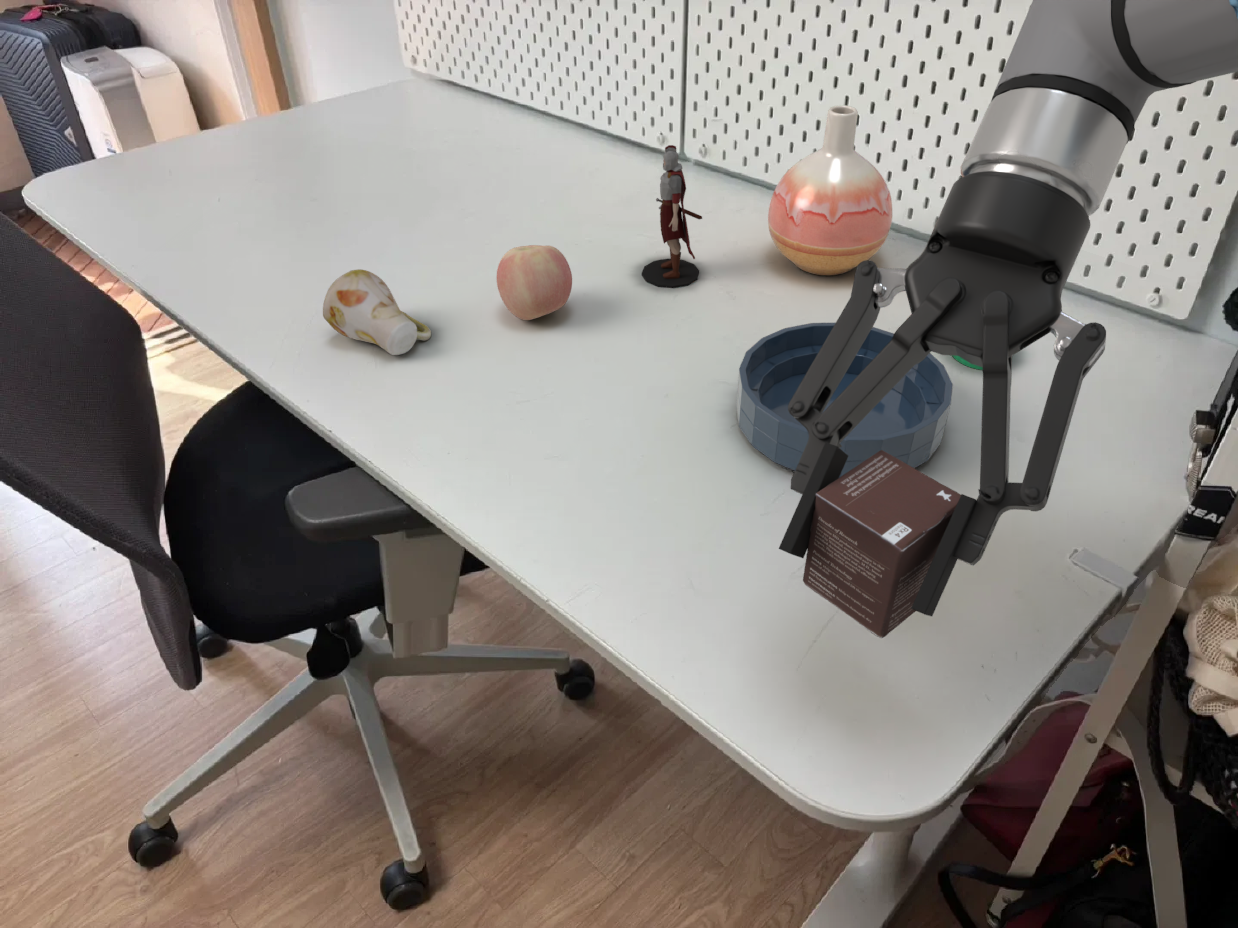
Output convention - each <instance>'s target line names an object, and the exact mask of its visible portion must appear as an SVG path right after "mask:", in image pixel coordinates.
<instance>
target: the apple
mask: <svg viewBox="0 0 1238 928" xmlns="http://www.w3.org/2000/svg"><path fill="white" fill-rule="evenodd" d="M496 287H497V290H498V293H499V296H500V298H501V300H502V303H503V304H504V306H505V307H506V308H507V310H508V311H509V312H510V313H511V314H512V315H513V316H514V317H516V318H518V319H520V320H522V321H523V320H524V321H531V320H535V319H538V318H540V317H543V316H547V315H549V314H551V313H553V312H555V311H558V310H560V309H562V308H563V307H564V306H565V305H566V303H567V302H568V300H569V298H570V296H571V293H572V289H573V273H572V270H571V267H570V264H569V262H568V260H567V257H565V255H564V253H562V252H561V251H560V249H558V248H557V247H554V246H553V245H539V244H531V245H530V244H529V245H521V246H516V247H513V248H511V249H509V250H508V251H506V252H505V253H504V255H502V257H501V259H500V261H499V263H498V265H497V270H496Z"/></svg>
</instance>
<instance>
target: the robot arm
mask: <svg viewBox="0 0 1238 928" xmlns="http://www.w3.org/2000/svg"><path fill="white" fill-rule="evenodd" d="M1234 73H1238V0H1032V1H1031V4H1030V7H1029V9H1028V11H1027V13H1026V16H1025V18H1024V21H1023V23H1022V25H1021V28H1020V30H1019V32H1018V35H1017V38H1016V39H1015V42H1014V44H1013V46H1012V49H1011V52H1010V53H1009V56H1008V58H1007V61H1006V63H1005V66H1004V68H1003V70H1002V73H1001V75H1000V77H999V79H998V82H997V84H996V86H995V89H994V91H993V96H992V98H991V100H990V102H989V103H988V105H987V108H986V110H985V112H984V114H983V117H982V119H981V121H980V123H979V125H978V128H977V129H976V132H975V134H974V136H973V139H972V141H971V143H970V145H969V148H968V150H967V152H966V154H965V156H964V159H963V160H962V163H961V165H960V175H961V178H959V179H957V180H956V181H954V183H953V184H952V186H951V189H950V190H949V192H948V195H947V198H946V199H945V202H944V204H943V207H942V209H941V211H940V214H939V215H938V218H937V220H936V222H935V225H934V226H933V229H932V231H931V234H930V236H929V239H928V241H927V244H926V246H925V248H924V250H923V251H922V253H921V254H920V255H919V256H918V257H917V258H916V259H915V260H914V261H912V262H911V263H910V264H909V265H908V266H907V268H894V267H893V268H890V267H878V266H877V264H876V262H874V261H873V260H870V259H868V260H865V261H863V262H861V263H860V264H859V265H858V266H856V267H855V273H854V278H853V281H852V282H853V283H852V288H851V292H850V298H849V299H848V301H847V303H846V304H845V306H844V308H843V310H842V311H841V313H840V314H839V316H838V318H837V320H836V321H835V322H834V323H835V325H834V327H833V328H832V330H831V332H830V334H829V335H828V337H827V339H826V340H825V342H824V344H823V346H822V347H821V349H820V351H819V352H818V354H817V356H816V358H815V359H814V361H813V363H812V364H811V366H810V368H809V370H808V371H807V373H806V375H805V376H804V378H803V380H802V382H801V383H800V385H799V387H798V388H797V390H796V392H795V394H794V395H793V397H792V399H791V400H790V402H789V405H788V411H789V413H790V414H791V415H792V416H793V417H794V418H795V419H796V420H797V421H799V422H800V423H801V424H802V425H803V426H804V427H805V428H806V429H807V431H808V434H809V439H808V442H807V445H806V447H805V449H804V451H803V454H802V456H801V458H800V461H799V463H798V465H797V467H796V470H795V471H794V472H793V475H792V477H791V479H790V490H792V491H794V492H796V493H798V494H800V495H801V497H800V499H799V501H798V503H797V506H796V508H795V510H794V512H793V515H792V517H791V520H790V521H789V524H788V526H787V529H786V531H785V533H784V535H783V538H782V540H781V542H780V545H779V547H778V550H780V551H783V552H785V553H787V554H789V555H792V556H795V557H798V558H801V559H804V557H805V555H806V554H807V550H808V543H809V537H810V531H811V525H812V519H813V512H814V508H815V501H816V493H817V492H819V491H820V490H822V489H823V488H825V487H826V486H828V485H829V484H831V483H832V482H834V481H835V480H837V479H838V478H839V476H840V474H841V472H842V470H843V467H844V465H845V463H846V460H847V458H848V455H847V454H846V453H845V452H843V451H842V450H841V449H840V447H842V445H840V443H841V441H842V440H843V439H844V438H845V437H846V436H847V435H848V434H849V433H850V432H851V431H852V430H853V429H854V428H855V427H856V426H857V425H858V424H859V423H860V422H861V421H862V419H863V418H864V417H865V416H866V415H867V414H868V413H869V412H870V411H871V410H872V409H873V408H874V407H875V406H876V405H877V404H878V403H879V402H880V401H881V400H882V399H883V398H884V396H885V395H886V394H887V393H888V392H889V391H890V390H891V389H892V388H893V387H894V386H895V385H896V384H897V383H898V382H899V381H900V380H901V379H902V378H903V377H904V376H905V375H906V373H907V372H908V371H909V370H910V369H911V368H912V367H913V366H914V365H916V364H918V363H920V362H921V361H922V360H923V359H924V358H925V357H926V356H927V355H928V354H929V353H936V354H938V355H942V356H952V355H953V356H960V357H961V358H963V359H964V360H966V361H967V362H969V363H971V364H974V365H977V366H980V367H983V370H982V400H981V401H982V403H981V435H980V436H981V437H980V465H979V466H980V471H979V488H978V489H977V491H978V496H977V498H974V497H971V496H968V495H965V494H963V493H960V494H961V497H960V499H959V501H958V503H957V506H956V508H955V510H954V512H953V515H952V517H951V519H950V521H949V524H948V526H947V528H946V530H945V533H944V535H943V537H942V540H941V542H940V544H939V546H938V549H937V551H936V553H935V555H934V558H933V560H932V562H931V564H930V567H929V569H928V571H927V573H926V576H925V578H924V580H923V583H922V585H921V587H920V589H919V592H918V594H917V596H916V598H915V601H914V603H913V605H912V607H911V609H913V610H916V611H915V612H918V613H920V614H921V615H924V616H928V617H933V615H934V613H935V611H936V609H937V607H938V605H939V602H940V600H941V598H942V595H943V593H944V592H945V591H944V590H945V589H946V586H947V584H948V582H949V579H950V577H951V575H952V573H953V570H954V568H955V566H956V564H957V562H958V560H959V561H961V562H963V563H966V564H968V565H970V566H972V567H974V566H975V565H976V564H977V563H979V561H981V560H982V559H983V557H984V553H985V551H986V549H987V547H988V544H989V542H990V540H991V537H992V535H993V534H994V531H995V528H996V526H997V525H998V522H999V520H1000V518H1001V517H1002V515H1003V514H1004V513H1006V512H1008V511H1012V510H1016V511H1017V510H1018V511H1019V510H1022V511H1030V512H1039V511H1042V510H1043V509H1044V508H1046V505H1047V504H1048V501H1049V497H1050V494H1051V490H1052V487H1053V483H1054V479H1055V476H1056V473H1057V469H1058V467H1059V464H1060V459H1061V457H1062V452H1063V449H1064V446H1065V443H1066V439H1067V435H1068V433H1069V430H1070V429H1069V428H1070V425H1071V422H1072V419H1073V416H1074V412H1075V408H1076V406H1077V401H1078V398H1079V394H1080V392H1081V388H1082V384H1083V381H1084V379H1085V377H1086V376H1087V375H1088V374H1089V372H1090V371H1091V369H1092V368H1093V367H1094V365H1095V364H1096V363H1097V362H1098V360H1099V359H1100V358H1101V356H1102V355H1103V354H1104V352H1105V350H1106V342H1107V341H1106V340H1107V330H1106V328H1105V326H1104V325H1102V324H1101V323H1099V322H1089V323H1087V324H1086V323H1084V322H1083V321H1081V320H1078V319H1077V318H1075V317H1073V316H1071V315H1069V314H1067V313H1065V312H1063V305H1062V304H1063V303H1062V295H1063V291H1064V289H1065V286H1066V283H1067V281H1068V279H1069V276H1070V275H1071V272H1072V269H1073V268H1074V265H1075V263H1076V260H1077V258H1078V256H1079V253H1080V252H1081V249H1082V247H1083V245H1084V242H1085V240H1086V238H1087V235H1088V233H1089V231H1090V229H1091V220H1090V218H1089V217H1090V216H1092V215H1094V214H1095V213H1096V211H1098V210H1099V209H1100V206H1101V204H1102V202H1103V200H1104V197H1105V196H1106V193H1107V190H1108V189H1109V188H1108V187H1109V185H1110V183H1111V181H1112V178H1113V177H1114V174H1115V172H1116V169H1117V167H1118V164H1119V162H1120V160H1121V157H1122V156H1123V153H1124V151H1125V148H1126V146H1127V145H1128V143H1129V142H1130V139H1131V137H1132V134H1133V132H1134V129H1135V126H1136V125H1135V124H1136V122H1137V121H1138V118H1139V116H1140V115H1141V112H1142V110H1143V108H1144V106H1145V105H1146V103H1147V100H1148V98H1150V96H1152V95H1153V94H1154V93H1156V92H1161V91H1164V90H1165V91H1166V90H1168V89H1169V90H1170V89H1175V88H1179V87H1184V86H1187V85H1192V84H1194V83H1196V82H1200V81H1205V80H1208V79H1212V78H1215V77H1216V78H1217V77H1221V76H1226V75H1229V74H1234ZM901 292H905V293H906V294H905V295H906V297H907V301H908V306H909V309H910V313H911V314H910V315H909V316H908V317H907V318H906V319H905V321H904V322H903V323H901V324H900V325H899V327H898V328H897V329H896V331H894V335H893V338H892V340H891V341H890V342H889V343H888V344H887V345H886V346H885V347H884V348H883V349H882V351H881V352H880V353H879V354H878V355H877V356H876V357H875V358H874V359H873V360H872V361H871V362H870V363H869V364H868V365H867V366H866V367H865V369H864V370H863V371H862V372H861V373H860V374H859V375H858V376H857V377H856V378H855V379H854V380H853V381H852V382H851V383H850V384H849V385H848V387H847V388H846V389H845V390H844V391H843V392H842V393H841V394H840V395H839V396H838V397H837V398H836V399H835V400H834V401H833V402H832V403H831V405H830V406H829V407H828V408H827V409H826V410H825V411H824V409H825V407H826V405H827V404H828V402H829V400H830V399H831V397H832V395H833V394H834V392H835V390H836V388H837V387H838V385H839V383H840V382H841V380H842V378H843V377H844V375H845V373H846V371H847V370H848V368H849V366H850V365H851V363H852V361H853V360H854V358H855V356H856V354H857V353H858V351H859V349H860V348H861V346H862V344H863V342H864V341H865V339H866V337H867V336H868V334H869V332H870V331H871V329H872V327H874V325H875V323H876V321H877V319H878V316H879V314H880V311H881V309H882V308H886V307H888V306H890V305H891V304H892V302H893V301H894V299H895V297H896V296H897V295H898V294H899V293H901ZM1050 333H1051V334H1052V335H1053V336H1054V337H1055V341H1054V343H1053V354H1054V357H1055V359H1056V360H1058V362H1057V366H1056V368H1055V370H1054V374H1053V377H1052V380H1051V384H1050V386H1049V391H1048V394H1047V398H1046V401H1045V404H1044V408H1043V411H1042V415H1041V418H1040V422H1039V424H1038V428H1037V431H1036V435H1035V439H1034V442H1033V445H1032V448H1031V451H1030V455H1029V459H1028V462H1027V466H1026V469H1025V472H1024V475H1023V478H1022V479H1023V480H1022V482H1009V475H1010V474H1009V471H1010V470H1009V469H1010V435H1011V434H1010V433H1011V431H1010V430H1011V393H1012V392H1011V391H1012V378H1013V377H1012V375H1013V374H1012V373H1013V356H1014V355H1016V354H1018V353H1019V352H1021V351H1022V350H1024V349H1026V348H1027V347H1029V346H1031V345H1032V344H1034V343H1035V342H1037V341H1039V340H1040V339H1042V338H1044V337H1045V336H1047V335H1048V334H1050ZM953 356H952V357H953ZM823 411H824V412H823ZM822 412H823V413H822Z"/></svg>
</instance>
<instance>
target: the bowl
mask: <svg viewBox="0 0 1238 928" xmlns="http://www.w3.org/2000/svg"><path fill="white" fill-rule="evenodd" d="M835 323H836V322H810V323H805V324H799V325H794V326H789V327H785V328H781V329H779V330H776V331H775V332H772V333H769V334H768V335H765V336H764V337H761V338H760V339H759V340H758V341H757V342H756V343H754V344H753V345H752V346H751V347H750V348H749V349H748V350H747V351H746V352H745V353H744V356H743V358H742V361H741V363H740V365H739V367H738V380H737V391H736V405H735V410H736V416H737V422H738V427H739V429H740V430H741V432H742V434H743V435H744V436H745V438H746V439H747V441H748V443H750V445H751V446H752V447H753V448H754V449H756V450H757V451H759V453H761V454H763V455H764V456H765V457H766V458H767V459H769V460H771V461H772V462H773V463H775V464H777V465H780V466H783V467H785V468H787V469H789V470H792V471H794V472H795V470H796V467H797V465H798V463H799V461H800V458H801V456H802V454H803V451H804V449H805V447H806V445H807V442H808V439H809V434H808V431H807V429H806V428H805V427H804V426H803V425H802V424H801V423H800V422H799V421H797V420H796V419H795V418H794V417H793V416H792V415H791V414H790V413H789V411H788V405H789V402H790V400H791V399H792V397H793V395H794V394H795V392H796V390H797V388H798V387H799V385H800V383H801V382H802V380H803V378H804V376H805V375H806V373H807V371H808V370H809V368H810V366H811V364H812V363H813V361H814V359H815V358H816V356H817V354H818V352H819V351H820V349H821V347H822V346H823V344H824V342H825V340H826V339H827V337H828V335H829V334H830V332H831V330H832V328H833V327H834V325H835ZM894 333H895V332H894ZM894 333H893V332H890V331H888V330H884V329H880V328H877V327H875V326H873V327H872V329H871V331H870V332H869V334H868V336H867V337H866V339H865V341H864V342H863V344H862V346H861V348H860V349H859V351H858V353H857V354H856V356H855V358H854V360H853V361H852V363H851V365H850V366H849V368H848V370H847V371H846V373H845V375H844V377H843V378H842V380H841V382H840V383H839V385H838V387H837V388H836V390H835V392H834V394H833V395H832V397H831V399H830V400H829V402H828V404H827V405H826V407H825V409H824V411H825V410H826V409H827V408H828V407H829V406H830V405H831V403H832V402H833V401H834V400H835V399H836V398H837V397H838V396H839V395H840V394H841V393H842V392H843V391H844V390H845V389H846V388H847V387H848V385H849V384H850V383H851V382H852V381H853V380H854V379H855V378H856V377H857V376H858V375H859V374H860V373H861V372H862V371H863V370H864V369H865V367H866V366H867V365H868V364H869V363H870V362H871V361H872V360H873V359H874V358H875V357H876V356H877V355H878V354H879V353H880V352H881V351H882V349H883V348H884V347H885V346H886V345H887V344H888V343H889V342H890V341H891V340H892V338H893V335H894ZM953 386H954V384H953V381H952V380H951V378H950V376H949V373H948V371H947V369H946V367H945V365H944V364H943V363H942V362H940V360H938V358H936V357H935V356H934V355H933V354H932V352H930V353H929V354H928V355H927V356H926V357H925V358H924V359H923V360H922V361H921V362H920V363H918V364H916V365H914V366H913V367H912V368H911V369H910V370H909V371H908V372H907V373H906V375H905V376H904V377H903V378H902V379H901V380H900V381H899V382H898V383H897V384H896V385H895V386H894V387H893V388H892V389H891V390H890V391H889V392H888V393H887V394H886V395H885V396H884V398H883V399H882V400H881V401H880V402H879V403H878V404H877V405H876V406H875V407H874V408H873V409H872V410H871V411H870V412H869V413H868V414H867V415H866V416H865V417H864V418H863V419H862V421H861V422H860V423H859V424H858V425H857V426H856V427H855V428H854V429H853V430H852V431H851V432H850V433H849V434H848V435H847V436H846V437H845V438H844V439H843V440H842V441H841V443H840V445H842V447H840V449H841V450H842V451H843V452H845V453H846V454H847V455H848V458H847V460H846V463H845V465H844V467H843V470H842V472H841V474H840V476H839V478H840V477H841V476H843V475H844V474H846V473H847V472H849V471H850V470H852V469H853V468H855V467H856V466H858V465H859V464H861V463H862V462H863V461H865V460H867V459H868V458H870V457H871V456H873V455H874V454H876V453H877V452H879V451H880V450H883V451H885V452H886V453H888V454H890V455H892V456H894V457H895V458H897V459H899V460H901V461H902V462H904V463H906V464H907V465H909V466H911V467H913V468H914V469H916V468H917V467H919V466H921V465H923V464H924V463H926V462H928V461H929V460H930V458H931V457H932V456H933V454H934V453H935V451H936V450H937V449H938V448H939V446H940V445H941V443H942V440H943V436H944V434H945V433H944V432H945V428H946V425H947V420H948V416H949V412H950V409H951V405H952V396H953V388H954V387H953ZM824 411H823V412H824ZM823 412H822V413H823Z"/></svg>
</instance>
